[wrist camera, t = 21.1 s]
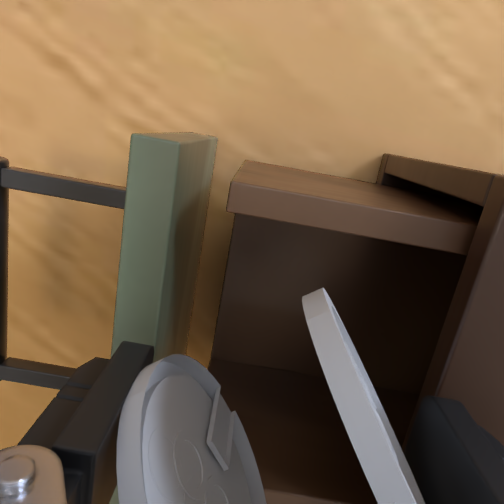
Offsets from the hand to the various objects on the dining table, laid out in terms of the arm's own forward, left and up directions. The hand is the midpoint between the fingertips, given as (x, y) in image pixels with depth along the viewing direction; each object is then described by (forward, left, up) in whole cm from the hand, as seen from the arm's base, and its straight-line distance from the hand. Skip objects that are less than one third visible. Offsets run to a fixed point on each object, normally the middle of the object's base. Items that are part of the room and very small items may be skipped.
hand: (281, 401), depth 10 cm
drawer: (0, +1, -10) cm, 10 cm away
